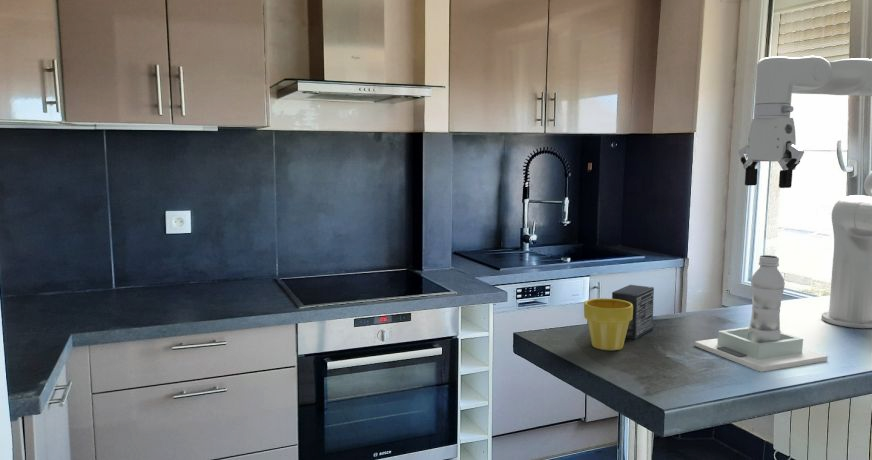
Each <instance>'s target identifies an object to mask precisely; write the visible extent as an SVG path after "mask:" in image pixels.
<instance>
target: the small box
mask: <svg viewBox="0 0 872 460" xmlns="http://www.w3.org/2000/svg"><path fill="white" fill-rule="evenodd" d="M654 289H655V288H654V287H653V286H643V285H635V284H629V285H627V286H623V287H621V288H619V289H617V290H615V291H613V292H611V299H618V300H624V301H628V302H630V303H632V305H633V317H632V320H631V321H629V325H628V329H627V332H626V337H625V339H633V340H637V339H639V338H640V337H643V336H644V335H646V334H648V333H649V332H651V331H653V330H654V295H655V294H654Z"/></svg>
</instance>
